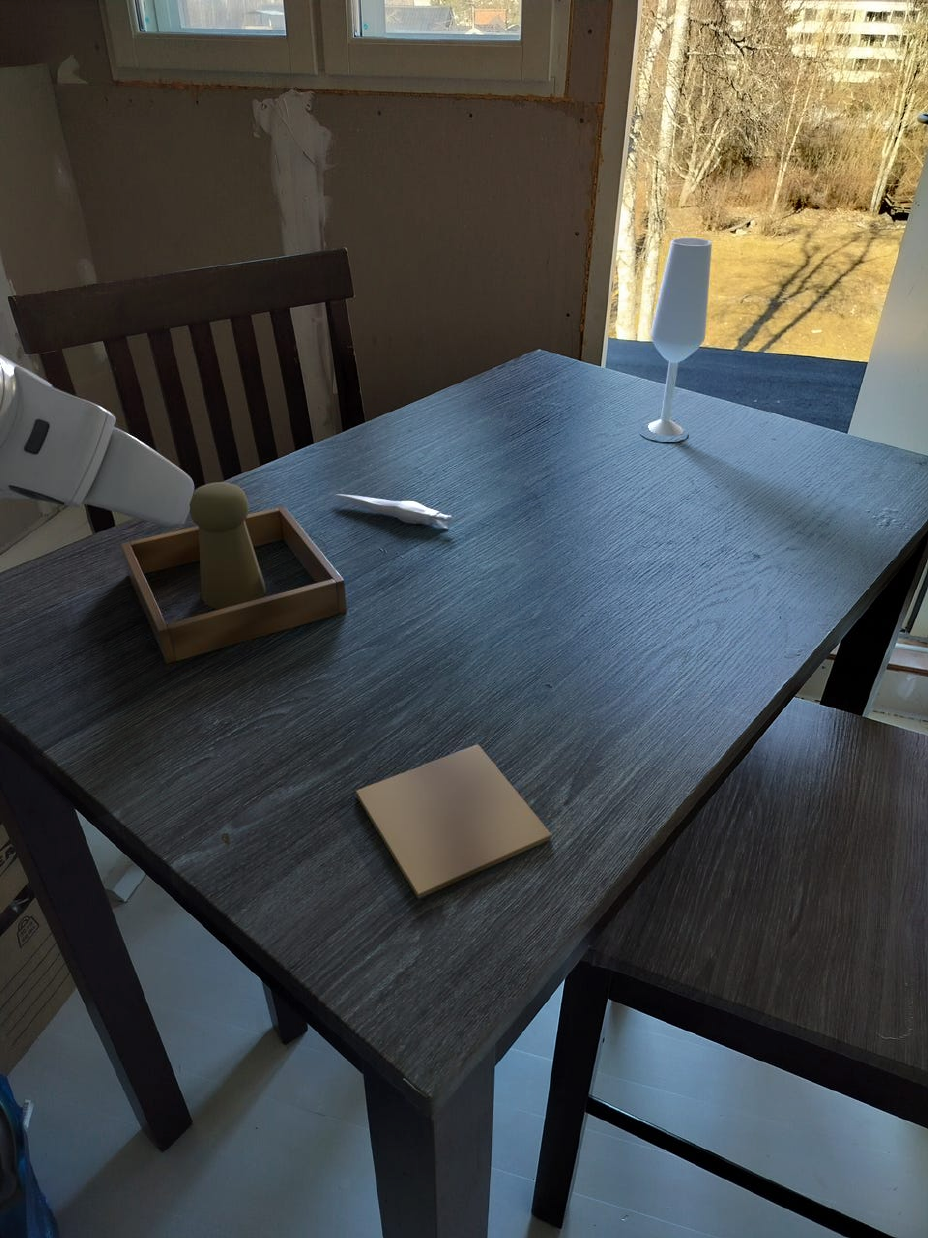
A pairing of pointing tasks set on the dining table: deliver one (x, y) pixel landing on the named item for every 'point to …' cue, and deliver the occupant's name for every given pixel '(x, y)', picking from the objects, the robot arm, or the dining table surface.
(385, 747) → the dining table surface
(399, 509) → the white animal figurine
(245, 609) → the open box
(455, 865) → the coaster
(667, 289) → the champagne flute
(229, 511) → the olive game pawn
